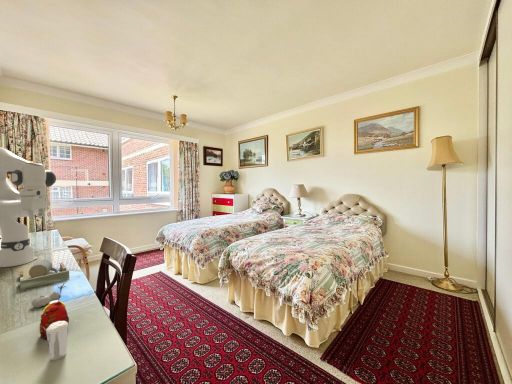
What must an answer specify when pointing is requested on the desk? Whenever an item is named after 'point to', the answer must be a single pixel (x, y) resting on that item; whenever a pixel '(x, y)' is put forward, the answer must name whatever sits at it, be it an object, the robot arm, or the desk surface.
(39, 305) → the smooth white sculpture
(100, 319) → the desk surface
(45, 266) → the ceramic mug
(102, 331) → the desk surface
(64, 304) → the watch
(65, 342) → the white tooth model
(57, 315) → the red clay folk toy
